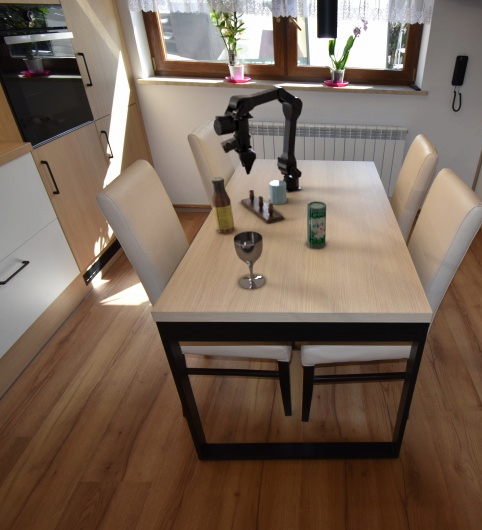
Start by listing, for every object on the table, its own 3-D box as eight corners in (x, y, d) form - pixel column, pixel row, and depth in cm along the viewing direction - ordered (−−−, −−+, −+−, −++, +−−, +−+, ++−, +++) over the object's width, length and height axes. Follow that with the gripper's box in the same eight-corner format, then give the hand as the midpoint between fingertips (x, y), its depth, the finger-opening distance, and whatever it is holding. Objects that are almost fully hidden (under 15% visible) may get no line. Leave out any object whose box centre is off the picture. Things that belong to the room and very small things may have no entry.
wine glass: (240, 274, 119) (235, 231, 111) (266, 274, 120) (263, 231, 112) (237, 289, 113) (231, 245, 104) (264, 289, 113) (261, 244, 105)
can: (312, 250, 133) (312, 210, 125) (305, 242, 138) (304, 203, 129) (327, 246, 136) (329, 207, 127) (320, 238, 140) (321, 200, 132)
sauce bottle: (238, 228, 144) (232, 177, 133) (227, 235, 139) (220, 183, 129) (224, 225, 146) (217, 174, 136) (213, 231, 142) (205, 179, 131)
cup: (281, 196, 171) (280, 179, 167) (289, 201, 167) (289, 184, 162) (267, 199, 168) (266, 182, 163) (276, 205, 163) (275, 187, 159)
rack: (256, 199, 168) (254, 185, 164) (283, 219, 152) (282, 203, 149) (241, 203, 164) (239, 188, 160) (267, 223, 149) (266, 208, 145)
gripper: (217, 126, 154) (222, 165, 163) (224, 139, 140) (229, 180, 148) (245, 125, 158) (249, 162, 166) (254, 137, 143) (258, 177, 152)
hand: (245, 170), depth 158 cm, fingers open, 9 cm apart
